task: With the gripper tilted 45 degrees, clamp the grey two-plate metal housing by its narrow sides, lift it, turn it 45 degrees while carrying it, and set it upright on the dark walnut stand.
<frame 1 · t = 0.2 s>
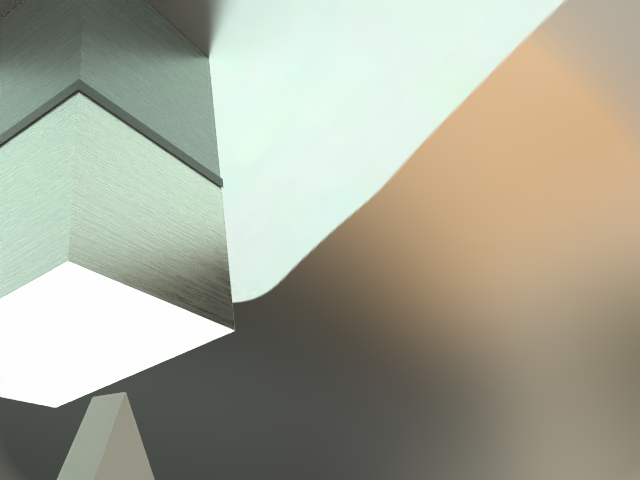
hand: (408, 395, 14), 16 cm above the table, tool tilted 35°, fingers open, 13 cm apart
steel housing: (79, 63, 24), on the table
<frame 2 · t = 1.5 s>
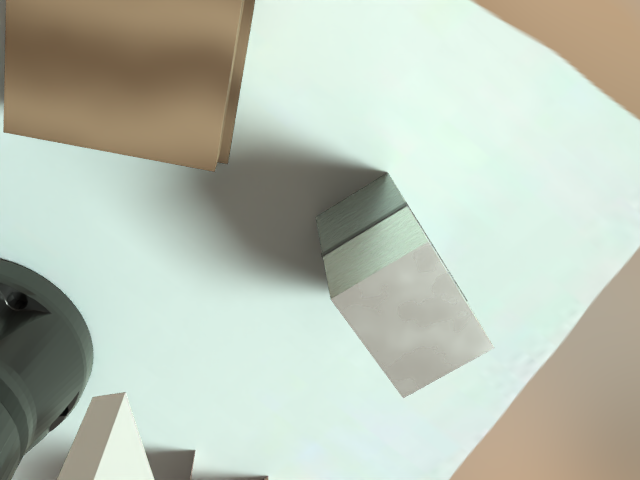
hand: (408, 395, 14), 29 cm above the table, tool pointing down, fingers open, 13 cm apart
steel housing: (379, 238, 44), on the table
walnut stand: (137, 55, 38), on the table
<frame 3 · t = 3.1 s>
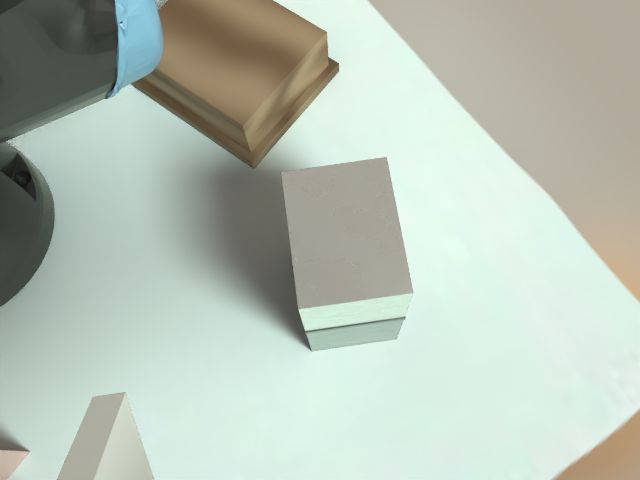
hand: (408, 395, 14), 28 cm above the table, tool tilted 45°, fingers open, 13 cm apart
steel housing: (345, 290, 44), on the table
walnut stand: (235, 78, 51), on the table
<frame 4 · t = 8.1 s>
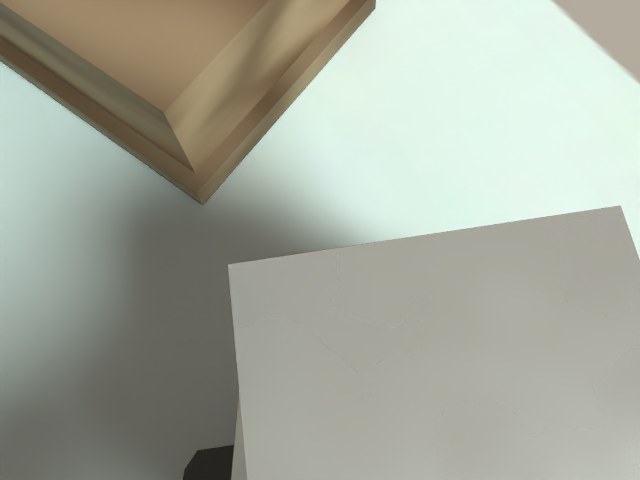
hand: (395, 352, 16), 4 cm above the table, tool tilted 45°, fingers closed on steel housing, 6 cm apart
walnut stand: (172, 24, 26), on the table
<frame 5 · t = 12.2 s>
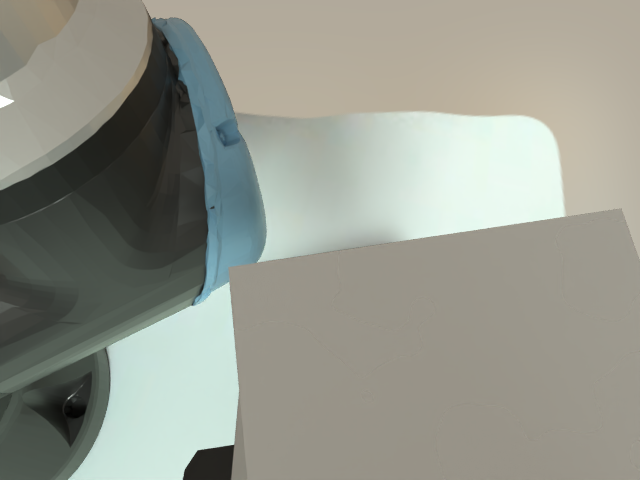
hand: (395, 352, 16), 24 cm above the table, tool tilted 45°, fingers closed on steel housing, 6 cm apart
when the fingers open (11 cm above the table, at t = 16.5 s): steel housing drops 1 cm, resting on walnut stand.
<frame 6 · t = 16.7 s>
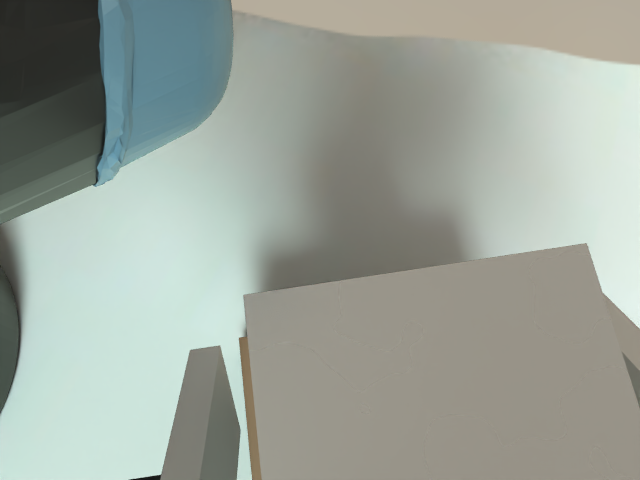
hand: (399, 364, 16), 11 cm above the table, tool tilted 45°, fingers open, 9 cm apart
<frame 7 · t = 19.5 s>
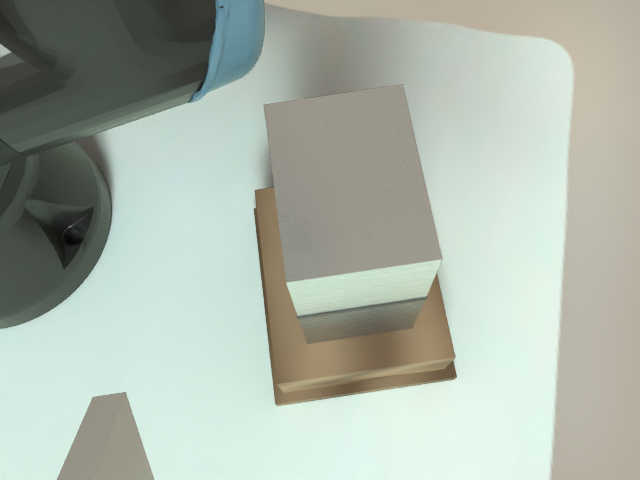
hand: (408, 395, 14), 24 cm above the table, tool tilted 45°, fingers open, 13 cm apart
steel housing: (349, 269, 36), point 5 cm above the table, touching walnut stand
walnut stand: (349, 292, 40), on the table
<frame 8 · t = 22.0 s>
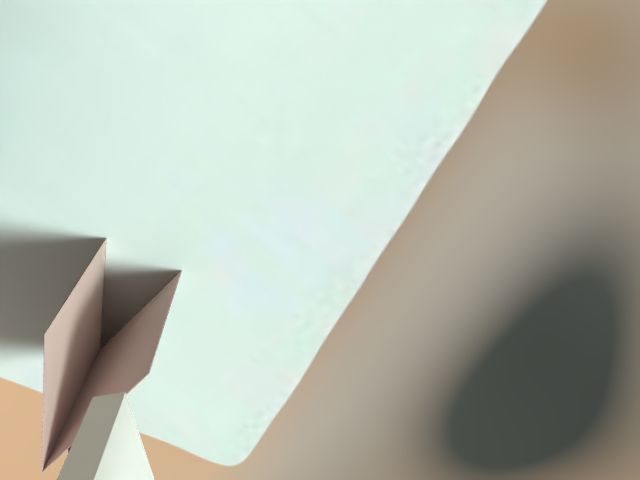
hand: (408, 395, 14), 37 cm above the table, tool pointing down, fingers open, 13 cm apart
greeting card: (114, 290, 54), on the table
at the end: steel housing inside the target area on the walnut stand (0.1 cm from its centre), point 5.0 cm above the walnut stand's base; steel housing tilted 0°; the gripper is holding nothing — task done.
